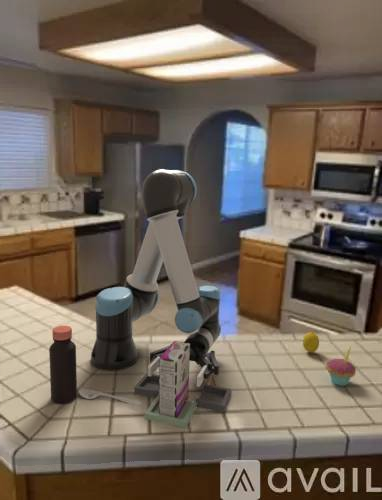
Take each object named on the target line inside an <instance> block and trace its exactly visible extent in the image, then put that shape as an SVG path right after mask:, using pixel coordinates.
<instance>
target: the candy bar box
mask: <svg viewBox="0 0 382 500" xmlns="http://www.w3.org/2000/svg"><path fill="white" fill-rule="evenodd" d="M169 345H170V347H169V348H168V349H167V350H166V351H165V353H164V354H163V355H162V356H161V357H160V358H159V368H158V369H159V370H158V371H159V373H158V375H159V414H161V415H166V416H170V417H175V418H177V417H178V415H179V414H180V412H181V410H182V408H183V407H184V405H185V403H186V401H188V399H189V398H190V393H189V392H190V362H191V361H190V344H189V343H184V341H178V340H177V341H176V340H175V341H173V342H172V343H171V344H169Z"/></svg>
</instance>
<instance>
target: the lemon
mask: <svg viewBox="0 0 382 500" xmlns="http://www.w3.org/2000/svg"><path fill="white" fill-rule="evenodd" d="M319 338H320V337H319V336H318V334H316V333H315V332H313V331H310V332H307V333H306V334H305V335H304V336H303V340H302V345H303V349H304V350H305V351H307V352H308V353H309V354H311V353H315V352H316V351H317V350H318V349H319V346H320V340H319Z"/></svg>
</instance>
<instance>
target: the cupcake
mask: <svg viewBox="0 0 382 500" xmlns="http://www.w3.org/2000/svg"><path fill="white" fill-rule="evenodd" d="M351 348H352V347H351V346H350V347H349V348H348V349H347V352H346V355H345V358H333V359H330V360H329V361H327V362H326V364H325V369H326V371H328V373H329V377H330V380H331V382H332V383H333V384H335V385H337V386H347V385H348V383H349V381H350V379H351V378H354V377H355V375H356V371H357V369H356V367H355V366H354V364H353V363H352V362H350V361H349V360H348V359H349V356H350V353H351Z"/></svg>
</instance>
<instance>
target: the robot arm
mask: <svg viewBox="0 0 382 500" xmlns="http://www.w3.org/2000/svg"><path fill="white" fill-rule="evenodd" d="M197 191H198V186H197V183H196V181H195V179H194V178H193V177H192V175H191V174H190V173H188V172H186V171H183V170H179V169H172V170H171V169H157V170H154V171H152V172H151V173H150V174H148V176H146V178H145V179H144V181H143V183H142V188H141V200H142V201H141V202H142V206H143V210H144V214H145V217H146V220H147V222H148V225H147V229H146V231H145V232H146V233H145V235H144V237H143V241H142V244H141V247H140V250H139V254H138V256H137V259H136V263H135V266H134V268H133V271H132V273H131V274H129V275H128V276H127V277H126V279H125V281H124V284H123V286H115V287H114V286H113V287H109V288H105V289H103V290H101V291H100V292H99V293H98V294H97V296H96V299H95V328H96V329H95V331H96V332H95V333H96V334H95V335H96V336H95V342H94V344H93V348H92V350H91V355H90V363H91V364H92V365H93V366H94V367H95V368H97V369H100V370H105V371H119V370H124V369H128V368H129V367H132V366H133V365H136V363H137V361H138V349H137V347H136V343H135V341H134V337H133V323H134V322H136V321H137V320H139V319H140V318H143V317H144V316H146V315H148V314H150V313H152V311H153V310H154V309H155V308H156V307H157V305H158V303H159V300H160V299H159V297H160V296H159V292H158V289H159V284H158V282H157V279H158V276H159V274H160V272H161V268H162V266H163V265H164V269H165V271H166V274H167V278H168V281H169V284H170V288H171V291H172V295H173V298H174V302H175V304H176V308H177V311H176V314H175V316H174V323H175V326H176V328H177V329H178V330H179V331H180V332H182V333H184V334H189V335H188V337H187V338H186V339H185V340H184V341H183V343H189V344H190V361H189V362H195V363H196V365H199V367H201V370H200V372H199V373H198V374H197V376H196V387H198V388H199V387H201V386H202V385H203V383H204V381H205V379H208V378H209V376H210V375H211V374H212V373H214V375H216V376H219V373H220V372H219V371H220V364H219V363H218V360H217V358H216V356H215V355H216V351H215V350H210V349H211V348H212V347H213V345H214V343H215V342H216V340H217V339H219V336H220V335H221V331H222V325H221V323H220V320H219V319H220V304H221V303H220V302H221V293H220V292H221V291H220V289H219V288H218V287H217V286H212V285H202V286H199V287H198V286H197V283H196V282H197V281H196V279H195V276H194V275H195V274H194V272H193V269H192V266H191V265H192V264H191V262H190V258H189V255H188V251H187V248H186V245H185V241H184V238H183V235H182V230H181V228H180V224H179V221H178V220H180V219H182V218H184V216H185V213H186V211H187V209H188V207H189V205H191V203H193V202H194V201H195V198H196V197H197V193H198V192H197ZM170 345H171V344H169V345H168V346H165V347H163V348H159V349H156V350H154V351H151V352H150V353H149V365H148V366H147V373H148V376H150V377H151V376H152V374H155V372H156V371H157V370H158V369H159V358H160V357H161V356H162V355H163V354H164V353H165V351H166V350H167V349H168V348H169V347H170Z"/></svg>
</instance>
